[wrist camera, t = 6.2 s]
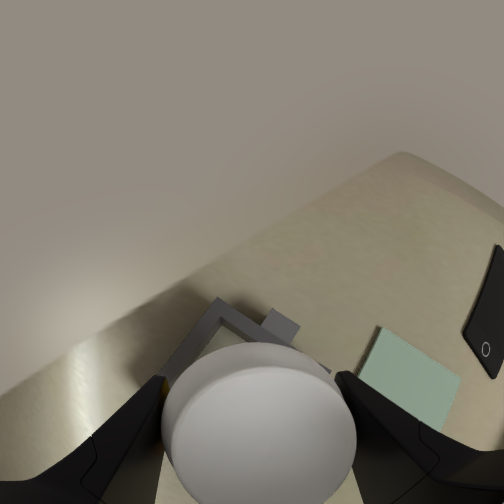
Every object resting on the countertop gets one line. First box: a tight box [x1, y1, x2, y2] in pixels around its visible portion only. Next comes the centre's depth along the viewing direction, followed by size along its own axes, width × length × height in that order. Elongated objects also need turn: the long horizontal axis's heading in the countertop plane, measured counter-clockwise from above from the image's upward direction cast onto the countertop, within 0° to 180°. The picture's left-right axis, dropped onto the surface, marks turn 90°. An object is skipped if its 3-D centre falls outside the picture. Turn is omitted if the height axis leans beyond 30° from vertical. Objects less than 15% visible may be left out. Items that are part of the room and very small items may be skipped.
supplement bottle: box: [161, 342, 356, 504], centre depth 9 cm, size 6×6×10 cm
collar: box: [158, 297, 331, 390], centre depth 18 cm, size 11×10×3 cm
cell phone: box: [463, 245, 504, 379], centre depth 23 cm, size 9×18×1 cm, turn 130°
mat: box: [357, 327, 461, 432], centre depth 18 cm, size 12×12×1 cm
